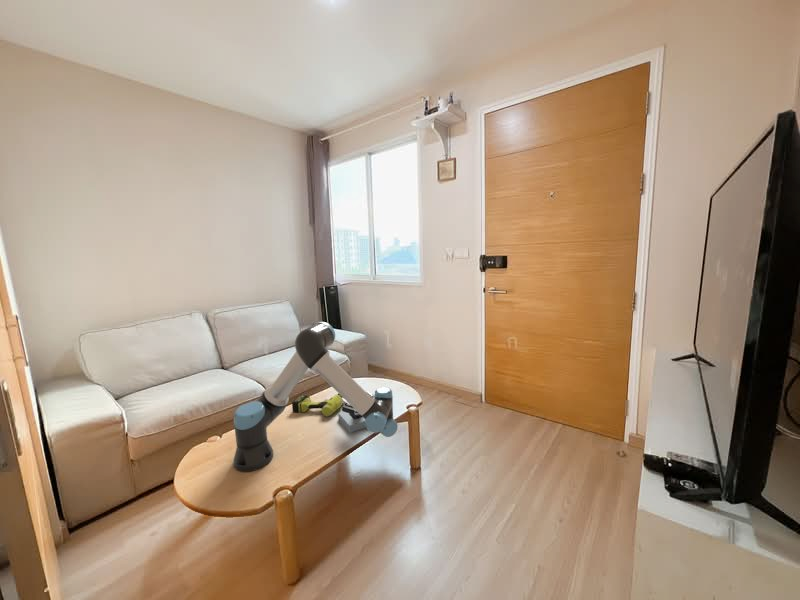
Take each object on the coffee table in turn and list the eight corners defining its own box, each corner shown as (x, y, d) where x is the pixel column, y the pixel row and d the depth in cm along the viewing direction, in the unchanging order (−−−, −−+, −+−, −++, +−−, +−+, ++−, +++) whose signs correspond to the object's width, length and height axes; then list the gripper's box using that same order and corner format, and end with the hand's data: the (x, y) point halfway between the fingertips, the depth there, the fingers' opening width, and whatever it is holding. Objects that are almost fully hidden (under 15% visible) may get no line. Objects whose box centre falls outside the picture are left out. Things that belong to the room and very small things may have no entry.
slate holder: (350, 432, 156) (349, 425, 155) (338, 419, 168) (338, 412, 168) (377, 423, 164) (377, 416, 163) (364, 411, 176) (364, 405, 176)
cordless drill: (315, 392, 200) (352, 397, 192) (291, 413, 176) (332, 420, 169) (314, 381, 198) (352, 386, 191) (289, 401, 175) (331, 407, 168)
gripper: (349, 430, 143) (331, 410, 160) (397, 414, 156) (376, 397, 173) (348, 414, 141) (331, 396, 159) (397, 399, 154) (376, 384, 172)
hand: (354, 396), depth 166 cm, fingers open, 13 cm apart
